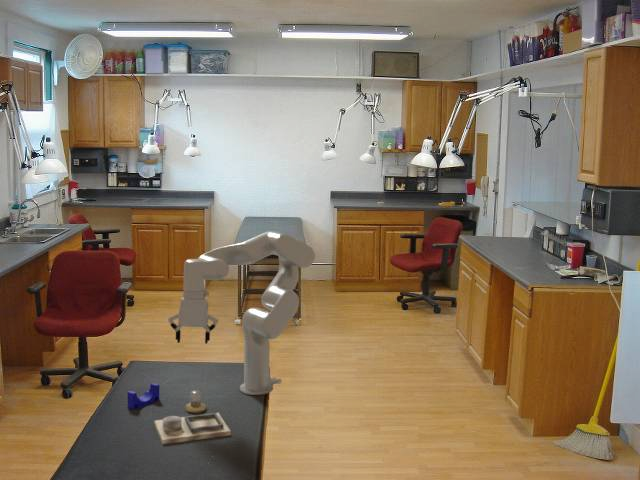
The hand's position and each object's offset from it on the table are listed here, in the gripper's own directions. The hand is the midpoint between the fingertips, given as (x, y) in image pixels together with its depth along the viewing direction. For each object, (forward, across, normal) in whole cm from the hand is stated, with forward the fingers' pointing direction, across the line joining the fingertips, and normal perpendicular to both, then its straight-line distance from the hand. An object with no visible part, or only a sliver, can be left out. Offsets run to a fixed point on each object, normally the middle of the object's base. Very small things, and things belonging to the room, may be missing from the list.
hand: (192, 342), depth 266 cm
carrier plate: (+24, -2, +20) cm, 31 cm away
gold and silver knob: (+24, -2, +2) cm, 24 cm away
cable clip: (+25, +18, -4) cm, 30 cm away
